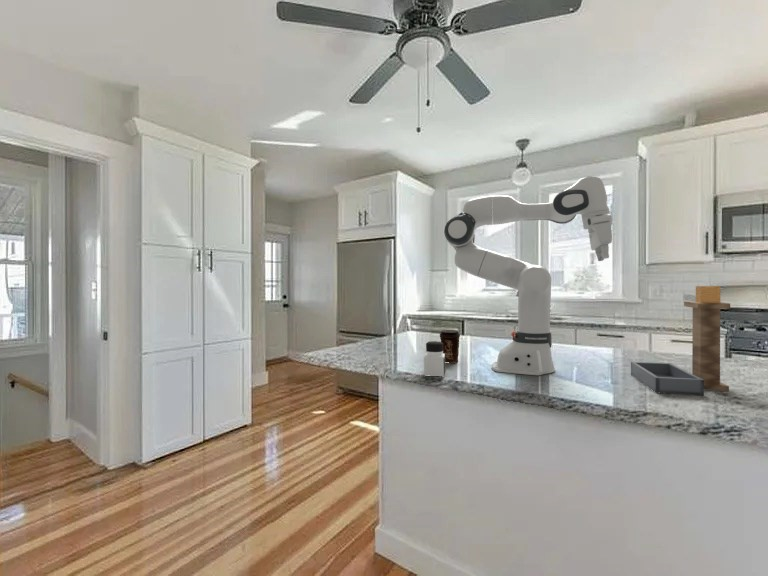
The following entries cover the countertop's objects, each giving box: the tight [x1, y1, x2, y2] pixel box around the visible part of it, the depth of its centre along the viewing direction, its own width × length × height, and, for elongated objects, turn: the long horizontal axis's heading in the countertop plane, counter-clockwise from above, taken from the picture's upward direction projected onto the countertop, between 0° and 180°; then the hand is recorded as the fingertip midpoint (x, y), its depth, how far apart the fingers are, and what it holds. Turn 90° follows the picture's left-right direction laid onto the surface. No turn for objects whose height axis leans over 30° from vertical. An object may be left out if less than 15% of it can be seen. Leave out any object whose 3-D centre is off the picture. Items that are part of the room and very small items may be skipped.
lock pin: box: [683, 285, 721, 303], centre depth 125 cm, size 5×15×5 cm, turn 164°
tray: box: [630, 361, 705, 397], centre depth 124 cm, size 12×22×4 cm, turn 164°
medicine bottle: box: [423, 340, 446, 377], centre depth 141 cm, size 7×7×12 cm
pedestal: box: [683, 301, 731, 392], centre depth 120 cm, size 8×9×26 cm
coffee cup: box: [439, 329, 461, 364], centre depth 161 cm, size 9×8×13 cm
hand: (603, 259), depth 138 cm, fingers open, 8 cm apart
